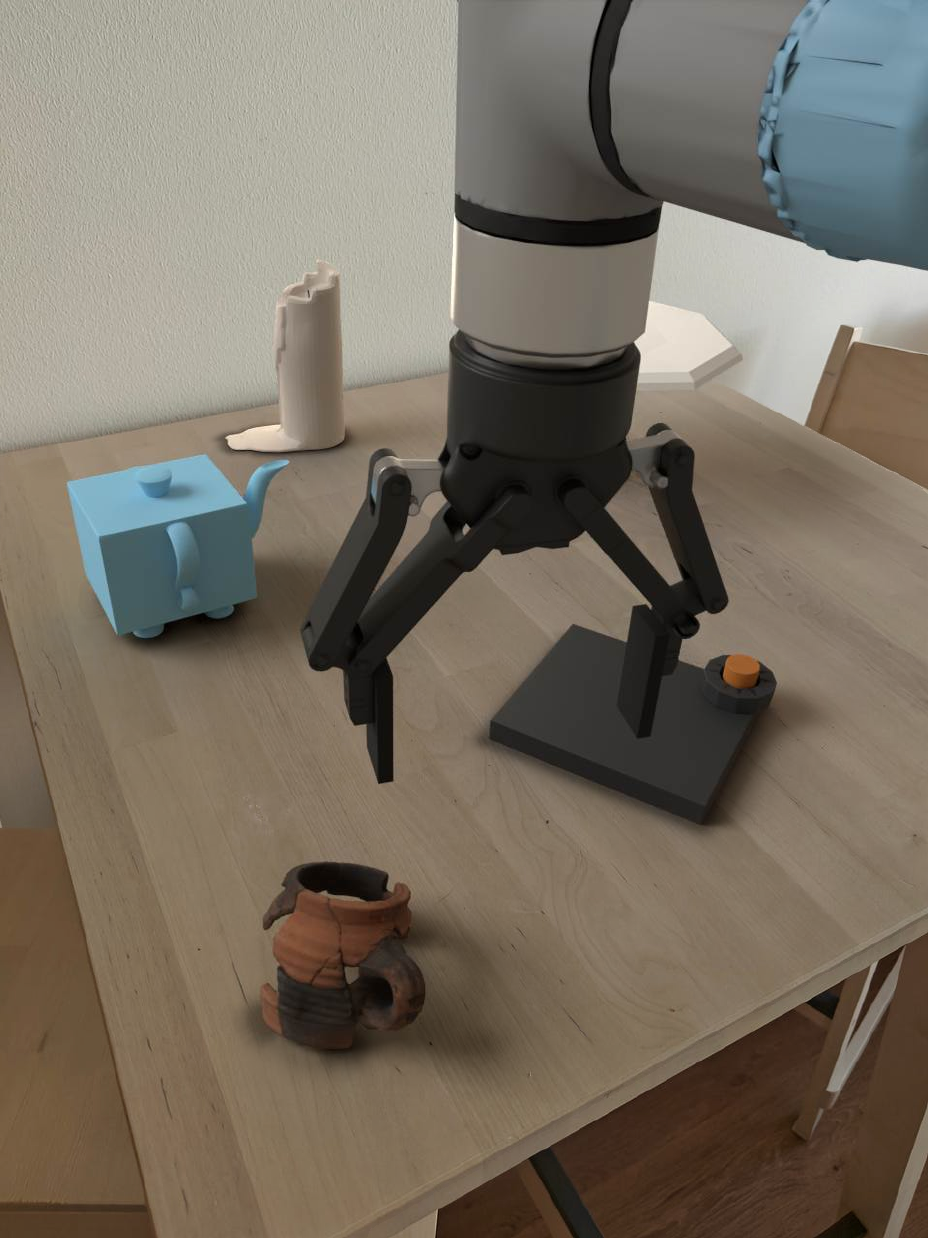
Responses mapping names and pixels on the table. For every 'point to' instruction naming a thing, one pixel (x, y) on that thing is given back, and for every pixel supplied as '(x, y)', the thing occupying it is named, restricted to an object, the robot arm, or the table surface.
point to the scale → (603, 741)
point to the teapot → (169, 540)
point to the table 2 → (681, 350)
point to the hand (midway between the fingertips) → (510, 742)
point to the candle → (305, 368)
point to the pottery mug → (340, 956)
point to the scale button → (741, 671)
